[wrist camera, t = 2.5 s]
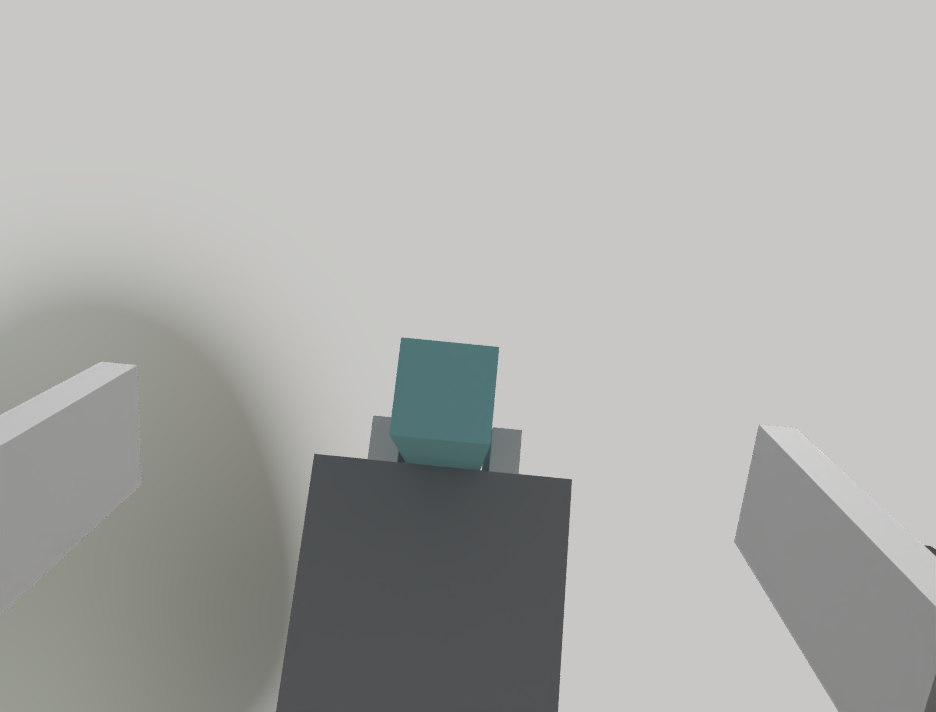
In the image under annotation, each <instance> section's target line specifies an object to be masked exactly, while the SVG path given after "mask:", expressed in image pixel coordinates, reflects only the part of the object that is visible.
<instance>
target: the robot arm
mask: <svg viewBox="0 0 936 712" xmlns="http://www.w3.org/2000/svg"><path fill="white" fill-rule="evenodd" d="M141 484H142V479H141V453H140V428H139V402H138V376H137V365H129V364H119V363H108V362H100V363H98V364H96V365H94V366H92V367H91V368H89V369H87V370H85V371H83V372H81V373H79V374H77V375H75V376H74V377H72V378H70V379H68V380H66V381H64V382H62V383H61V384H58V385H56V386H54V387H53V388H51V389H49V390H47V391H45V392H43V393H41V394H39V395H37V396H35V397H34V398H32V399H30V400H28V401H26V402H24V403H22V404H20V405H18V406H17V407H15V408H13V409H11V410H9V411H7V412H5V413H3V414H1V415H0V616H1V615H2V614H3V613H4V612H5V611H6V610H7V609H8V608H9V607H10V606H11V605H13V604H14V603H15V602H16V601H17V600H18V599H19V598H20V597H21V596H22V595H23V594H24V593H26V591H28V590H29V589H30V588H31V587H32V586H33V585H34V584H35V583H36V582H37V581H38V580H39V579H40V578H42V577H43V576H44V575H45V574H46V573H47V572H48V571H49V570H50V569H51V568H52V567H53V566H54V565H55V564H56V563H58V562H59V561H60V560H61V559H62V558H63V557H64V556H65V555H66V554H67V553H68V552H69V551H71V550H72V549H73V548H74V547H75V546H76V545H77V544H78V543H79V542H80V541H81V540H82V539H83V538H84V537H85V536H87V535H88V534H89V532H91V531H92V530H93V529H94V528H95V527H96V526H97V525H98V524H99V523H100V522H101V521H103V520H104V519H105V518H106V517H107V516H108V515H109V514H110V513H111V512H112V511H113V510H115V509H116V508H117V507H118V506H119V505H120V504H121V503H122V502H123V501H124V500H125V499H126V498H127V497H128V496H130V495H131V494H132V493H133V492H134V491H135V490H136V489H137V488H138V487H139V486H140V485H141ZM734 542H735V544H736V545H737V547H738V549H739V550H740V552H741V553H742V555H743V557H744V558H745V560H746V562H747V563H748V565H749V566H750V568H751V570H752V571H753V573H754V575H755V576H756V578H757V579H758V581H759V583H760V584H761V586H762V588H763V589H764V591H765V592H766V594H767V596H768V597H769V599H770V601H771V602H772V604H773V606H774V607H775V609H776V610H777V612H778V614H779V615H780V617H781V619H782V620H783V622H784V624H785V625H786V627H787V628H788V630H789V632H790V633H791V635H792V637H793V638H794V640H795V641H796V643H797V645H798V646H799V648H800V650H801V651H802V653H803V654H804V656H805V658H806V659H807V661H808V663H809V664H810V666H811V667H812V669H813V671H814V672H815V674H816V676H817V677H818V679H819V680H820V682H821V684H822V685H823V687H824V689H825V690H826V692H827V693H828V695H829V697H830V698H831V700H832V702H833V703H834V705H835V707H836V708H837V710H838V711H839V712H936V549H934V548H933V547H931V546H924V545H923V544H922V543H921V542H920V541H919V540H918V539H916V538H915V537H914V536H913V535H912V534H911V533H910V532H909V531H908V530H907V529H906V528H904V527H903V526H902V525H901V524H900V523H899V522H898V521H897V520H896V519H895V518H894V517H892V516H891V515H890V514H889V513H888V512H887V511H886V510H885V509H884V508H883V507H882V506H880V505H879V504H878V503H877V502H876V501H875V500H874V499H872V497H871V496H870V495H868V494H867V493H866V492H865V491H864V490H863V489H862V488H861V487H860V486H859V485H857V484H856V483H855V482H854V481H853V480H852V479H851V478H850V477H849V476H848V475H847V474H845V473H844V472H843V471H842V470H841V469H840V468H839V467H838V466H837V465H836V464H835V463H833V462H832V461H831V460H830V459H829V458H828V457H827V456H826V455H825V454H823V453H822V452H821V451H820V450H819V449H818V448H817V447H816V446H815V445H814V444H813V443H812V442H810V441H809V440H808V439H807V438H806V437H805V436H804V435H803V434H802V433H801V432H800V431H798V430H797V429H796V428H791V427H780V426H770V425H759V427H758V432H757V436H756V441H755V446H754V451H753V455H752V460H751V465H750V470H749V474H748V480H747V484H746V489H745V493H744V498H743V503H742V508H741V513H740V517H739V522H738V527H737V532H736V536H735V541H734Z"/></svg>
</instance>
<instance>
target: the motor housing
mask: <svg viewBox="0 0 936 712" xmlns="http://www.w3.org/2000/svg"><path fill="white" fill-rule="evenodd" d="M390 425H391V417H382V416H373V422H372V430H371V438H370V446H369V453H368V459H360V458H350V457H340V456H329V455H319V454H314V460H313V467H312V474H311V481H310V487H309V494H308V501H307V508H306V515H305V521H304V529H303V534H302V542H301V548H300V555H299V561H298V568H297V575H296V582H295V589H294V595H293V602H292V609H291V616H290V622H289V629H288V636H287V643H286V649H285V656H284V663H283V669H282V676H281V683H280V689H279V696H278V703H277V710H276V712H558V701H559V684H560V667H561V651H562V634H563V618H564V601H565V583H566V567H567V551H568V535H569V517H570V501H571V485H572V480H571V479H562V478H552V477H542V476H532V475H521V474H519V461H520V448H521V434H522V430H514V429H504V428H493V429H492V432H491V443H490V447H489V449H488V452H487V454H486V457H485V459H484V462H483V464H482V471H481V470H471V469H461V468H451V467H441V466H431V465H421V464H410V463H406V462H405V460H404V458H403V457H402V455H401V453H400V452H399V450H398V448H397V447H396V445H395V443H394V442H393V440H392V438H391V437H390V435H389V433H390Z"/></svg>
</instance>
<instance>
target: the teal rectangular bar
mask: <svg viewBox="0 0 936 712" xmlns="http://www.w3.org/2000/svg"><path fill="white" fill-rule="evenodd" d="M498 353H499V347H492V346H482V345H472V344H462V343H451V342H441V341H432V340H421V339H411V338H401V344H400V353H399V361H398V369H397V377H396V385H395V394H394V401H393V409H392V417H391V425H390V433H389V435H390V437H391V438H392V440H393V442H394V443H395V445H396V447H397V448H398V450H399V452H400V453H401V455H402V457H403V458H404V460H405V462H406V463H410V464H421V465H431V466H441V467H451V468H461V469H471V470H480V469H481V466H482V464H483V462H484V459H485V457H486V454H487V452H488V449H489V447H490V443H491V432H492V420H493V410H494V398H495V387H496V375H497V365H498Z"/></svg>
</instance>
